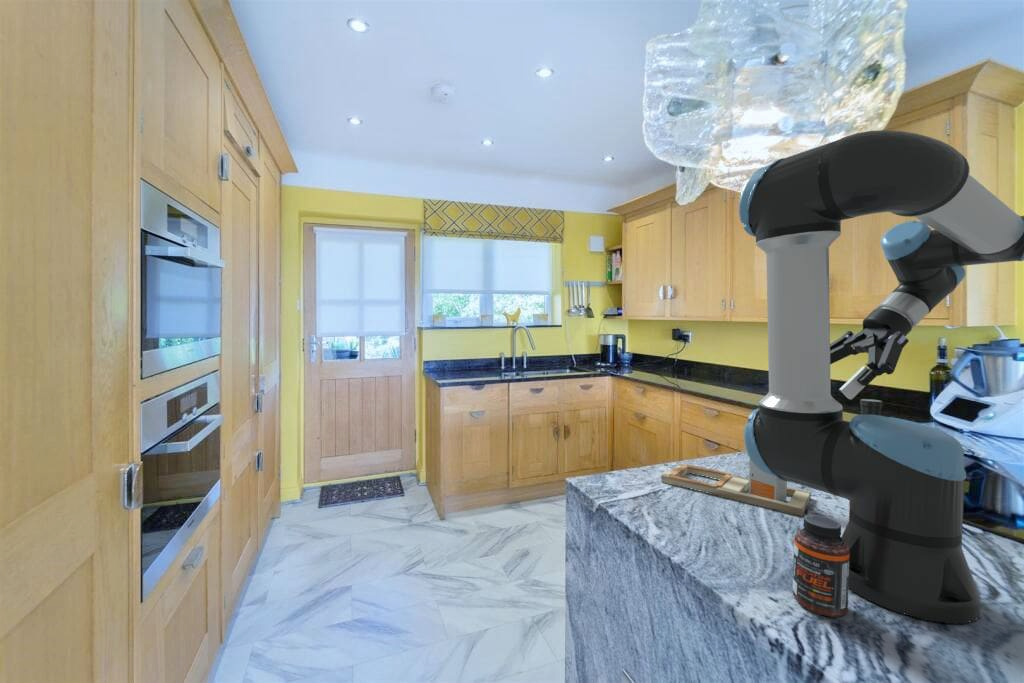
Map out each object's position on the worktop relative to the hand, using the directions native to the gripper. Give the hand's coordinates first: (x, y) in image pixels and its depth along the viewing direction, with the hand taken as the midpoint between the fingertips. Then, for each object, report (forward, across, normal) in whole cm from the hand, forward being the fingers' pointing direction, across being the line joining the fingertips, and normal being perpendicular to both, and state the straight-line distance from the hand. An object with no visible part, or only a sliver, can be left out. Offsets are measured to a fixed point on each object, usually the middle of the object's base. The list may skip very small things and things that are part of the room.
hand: (820, 389), depth 91 cm
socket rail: (+28, +4, -5) cm, 29 cm away
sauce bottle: (+4, +9, -30) cm, 31 cm away
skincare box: (+25, 0, -9) cm, 26 cm away
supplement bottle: (+34, -36, +1) cm, 50 cm away
